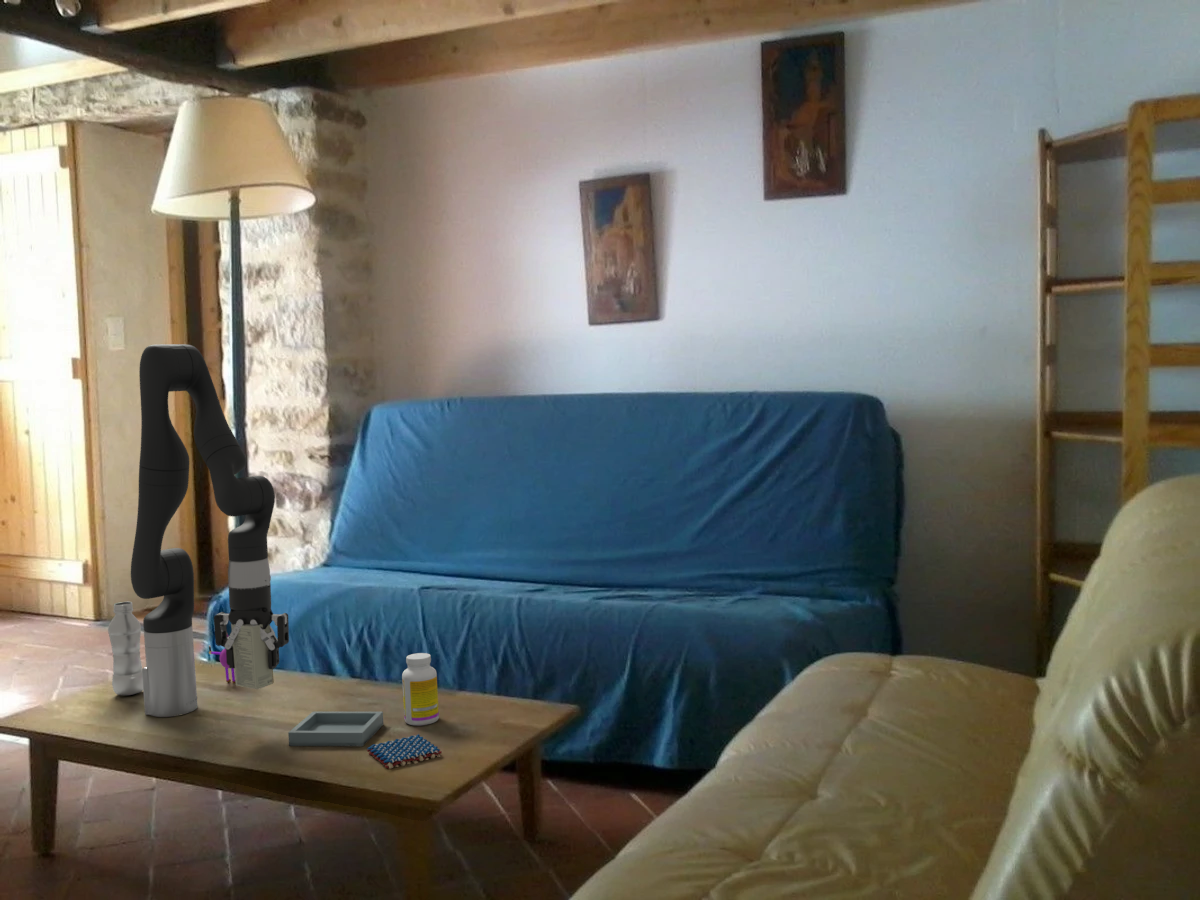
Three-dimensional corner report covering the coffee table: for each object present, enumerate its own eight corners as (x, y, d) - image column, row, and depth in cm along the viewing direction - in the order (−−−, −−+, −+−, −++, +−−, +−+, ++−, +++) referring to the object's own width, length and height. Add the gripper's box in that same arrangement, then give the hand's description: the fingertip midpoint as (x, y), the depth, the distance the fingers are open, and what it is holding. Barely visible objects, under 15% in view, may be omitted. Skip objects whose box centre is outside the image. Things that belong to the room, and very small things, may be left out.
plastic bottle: (138, 698, 230) (132, 606, 229) (107, 699, 230) (100, 607, 229) (151, 689, 237) (145, 599, 235) (120, 690, 237) (114, 600, 235)
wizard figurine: (254, 683, 239) (251, 630, 238) (244, 687, 236) (241, 633, 235) (215, 679, 243) (212, 626, 242) (205, 683, 240) (201, 630, 239)
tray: (289, 745, 197) (288, 732, 197) (313, 724, 209) (313, 711, 209) (362, 746, 196) (362, 732, 195) (383, 724, 208) (382, 711, 207)
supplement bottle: (446, 720, 209) (443, 655, 208) (418, 729, 204) (415, 662, 203) (424, 713, 213) (421, 649, 212) (397, 722, 209) (394, 657, 208)
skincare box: (274, 684, 205) (271, 621, 204) (256, 690, 201) (253, 626, 200) (251, 679, 208) (248, 617, 207) (233, 685, 204) (230, 622, 203)
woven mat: (444, 759, 189) (444, 747, 189) (387, 773, 183) (386, 761, 183) (421, 742, 198) (420, 732, 198) (365, 755, 192) (365, 744, 192)
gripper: (203, 586, 200) (208, 672, 202) (277, 587, 198) (281, 674, 200) (222, 577, 207) (226, 661, 209) (293, 578, 206) (297, 662, 207)
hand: (253, 667), depth 204 cm, fingers closed on skincare box, 7 cm apart
